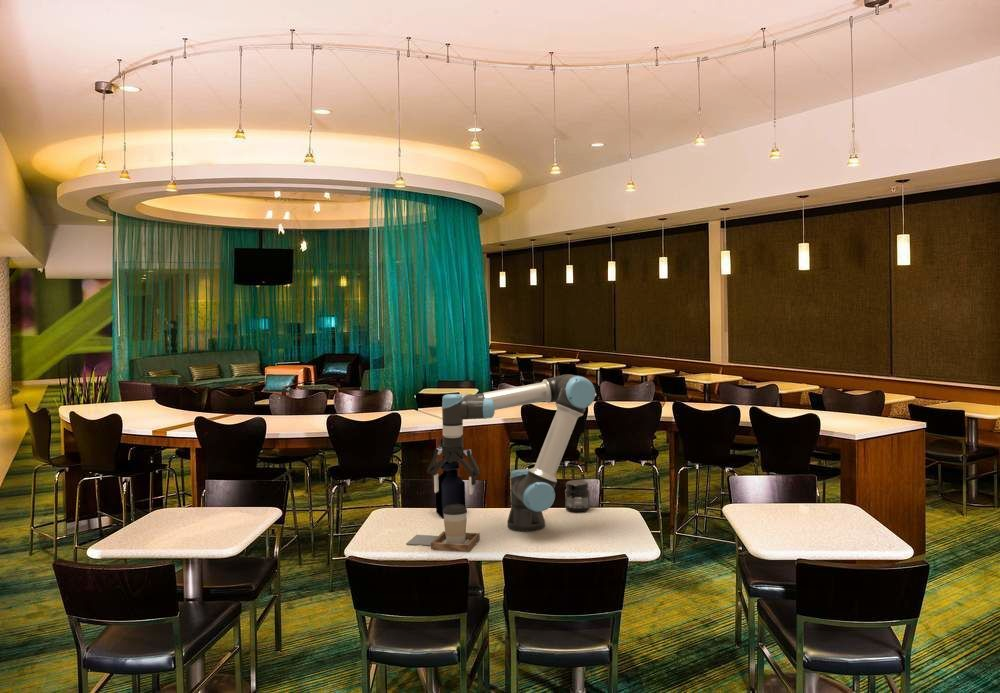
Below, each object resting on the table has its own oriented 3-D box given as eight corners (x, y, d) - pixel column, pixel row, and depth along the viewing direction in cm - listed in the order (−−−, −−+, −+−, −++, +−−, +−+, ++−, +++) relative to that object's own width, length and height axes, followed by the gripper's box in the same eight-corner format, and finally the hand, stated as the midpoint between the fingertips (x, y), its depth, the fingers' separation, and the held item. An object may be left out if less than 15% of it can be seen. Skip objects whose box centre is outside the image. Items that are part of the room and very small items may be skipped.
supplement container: (578, 505, 321) (578, 478, 321) (594, 510, 312) (594, 483, 312) (560, 509, 315) (559, 482, 315) (576, 514, 306) (575, 486, 306)
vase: (431, 511, 318) (429, 431, 316) (457, 508, 322) (454, 429, 320) (439, 519, 304) (437, 436, 303) (466, 516, 308) (463, 434, 306)
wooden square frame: (479, 539, 276) (479, 533, 276) (469, 552, 262) (468, 545, 262) (443, 537, 280) (443, 531, 280) (431, 549, 266) (430, 543, 266)
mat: (443, 537, 280) (443, 536, 280) (433, 546, 269) (433, 545, 269) (416, 535, 283) (416, 534, 283) (406, 544, 272) (406, 543, 272)
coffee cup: (455, 539, 277) (454, 500, 276) (473, 543, 271) (472, 504, 271) (438, 545, 270) (437, 505, 270) (456, 550, 264) (455, 509, 264)
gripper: (487, 435, 269) (488, 491, 270) (424, 433, 276) (425, 488, 277) (482, 438, 262) (483, 496, 263) (417, 436, 268) (418, 493, 269)
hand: (453, 492), depth 270 cm, fingers open, 13 cm apart
